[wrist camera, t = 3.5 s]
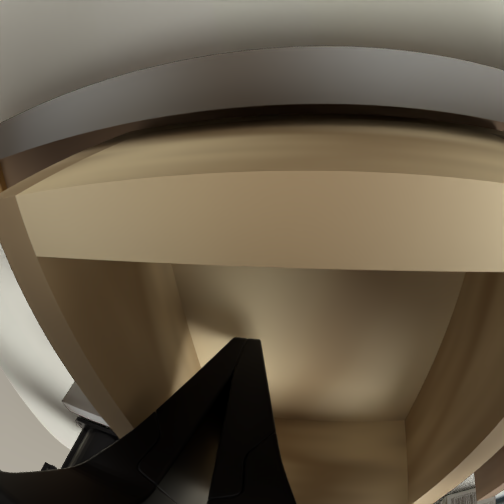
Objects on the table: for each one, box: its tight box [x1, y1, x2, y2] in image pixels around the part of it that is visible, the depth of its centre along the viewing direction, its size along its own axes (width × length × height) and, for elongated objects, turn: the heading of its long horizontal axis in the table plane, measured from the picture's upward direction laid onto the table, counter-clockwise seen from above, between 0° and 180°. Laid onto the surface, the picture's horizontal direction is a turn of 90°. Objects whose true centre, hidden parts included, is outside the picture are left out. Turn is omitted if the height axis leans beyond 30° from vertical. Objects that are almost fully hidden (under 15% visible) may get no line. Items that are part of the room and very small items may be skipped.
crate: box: [0, 114, 504, 504], centre depth 8 cm, size 10×12×5 cm
